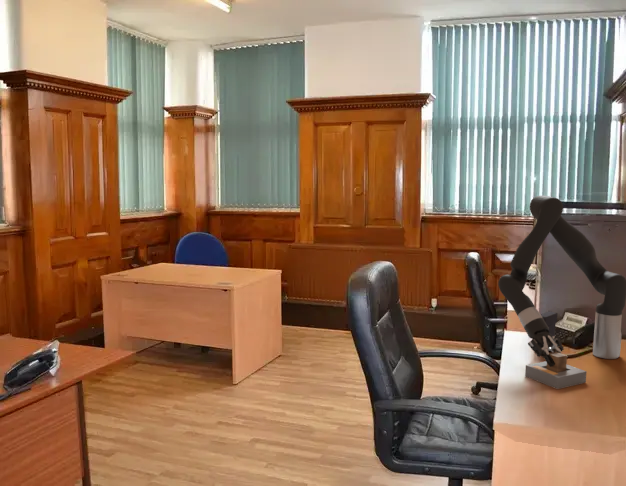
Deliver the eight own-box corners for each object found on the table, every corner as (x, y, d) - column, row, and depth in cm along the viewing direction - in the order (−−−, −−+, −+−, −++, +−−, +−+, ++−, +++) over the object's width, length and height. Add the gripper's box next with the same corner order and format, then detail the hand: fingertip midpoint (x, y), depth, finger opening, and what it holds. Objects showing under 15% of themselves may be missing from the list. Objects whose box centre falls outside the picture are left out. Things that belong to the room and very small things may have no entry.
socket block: (552, 370, 221) (553, 359, 221) (585, 382, 209) (586, 370, 208) (525, 376, 215) (525, 364, 214) (557, 389, 202) (558, 377, 202)
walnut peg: (555, 373, 214) (556, 351, 213) (565, 377, 210) (567, 355, 209) (546, 375, 212) (547, 353, 211) (556, 379, 208) (558, 357, 207)
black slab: (545, 346, 251) (547, 310, 249) (555, 348, 248) (557, 312, 246) (533, 351, 243) (535, 315, 242) (543, 354, 240) (545, 317, 238)
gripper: (524, 319, 213) (550, 362, 204) (553, 315, 220) (579, 356, 211) (512, 330, 219) (536, 372, 210) (540, 325, 225) (565, 366, 216)
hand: (557, 364), depth 210 cm, fingers closed on walnut peg, 4 cm apart
